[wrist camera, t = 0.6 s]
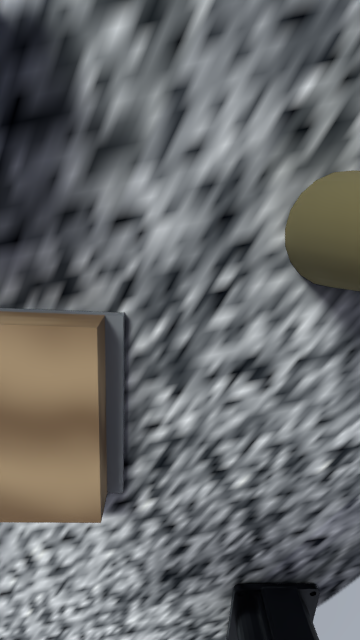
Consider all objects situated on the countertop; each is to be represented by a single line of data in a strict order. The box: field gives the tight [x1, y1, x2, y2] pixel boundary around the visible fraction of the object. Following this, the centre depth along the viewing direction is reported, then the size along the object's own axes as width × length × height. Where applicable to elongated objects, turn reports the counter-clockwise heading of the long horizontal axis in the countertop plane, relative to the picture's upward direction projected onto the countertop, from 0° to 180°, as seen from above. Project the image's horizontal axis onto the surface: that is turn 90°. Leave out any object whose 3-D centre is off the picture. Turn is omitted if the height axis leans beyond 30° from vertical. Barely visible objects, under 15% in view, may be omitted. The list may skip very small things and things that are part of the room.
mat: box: [0, 308, 125, 493], centre depth 20 cm, size 12×8×1 cm, turn 177°
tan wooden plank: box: [0, 311, 107, 523], centre depth 19 cm, size 12×6×2 cm, turn 177°
